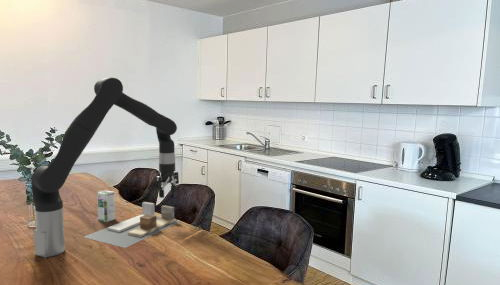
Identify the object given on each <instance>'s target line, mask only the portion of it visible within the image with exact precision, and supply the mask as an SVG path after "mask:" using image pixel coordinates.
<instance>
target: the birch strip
mask: <svg viewBox="0 0 500 285" xmlns="http://www.w3.org/2000/svg"><path fill="white" fill-rule="evenodd" d="M160 209H161V210H160V212H161V216H160V217H161V218H160V219H158V220H156V224H157V227H154V228H152V229H150V230H147V229H142V228H140V227H139V228H136V229H134V230H132V231H129V232H128V235H132V236H136V237H142V236H144V235H146V234H149V233H151V232H153V231H155V230H157V229H159V228H162V227H164V226H166V225H168V224H170V223H173V222H175V221H177V219H176V218H175V207H174V206H170V205H161V207H160Z"/></svg>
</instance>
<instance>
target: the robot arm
mask: <svg viewBox="0 0 500 285" xmlns="http://www.w3.org/2000/svg"><path fill="white" fill-rule="evenodd" d="M93 90H94V91H93V92H94V94H95V96H94V98H93V100H92V101H91V102H90V104H88V106H86V107H85V108H84V109H83V110H82V111H80V113H79V114H78V115H76V117H75V118H74V119H73V121H72V122H71V123H70V125H69V126H68V127H67V129H66V130H65V132H64V135H63V137H62V139H61V143H60V146H59V149H58V152H57V153H56V155H55V157H54V158H53V159H52V161H51V162H50V163H49V164H48V165H42V166H39V167H37V168H36V169H35V170H34V171H33V173H32V175H31V191H32V192H31V195H32V201H33V204H34V208H35V209H34V210H35V211H34V212H35V229H34V231H33V237H34V238H33V239H34V240H33V241H34V255H35V256H38V257H42V258H45V259H46V258H49V257H55V256H57V255H60V254H61V255H62V253H64V252H65V251H66V247H65V246H66V245H65V226H64V222H65V221H64V202H63V201H64V200H62V197H61V195H60V189H61V188H62V187H63V186H64V184H65V183H66V181H67V179H68V177H69V175H70V173H71V171H72V169H73V167H74V165H75V164H76V162H77V160H78V159H79V158H80V157H81V155H82V154H83V152H84V150H85V148H86V147H87V146H88V145H89V143H90V141H91V140H92V139H93V137H94V135H95V133H96V132H97V130H98V128H99V127H100V126H101V124H102V122H103V121H104V119H105V118H106V115H107V114H108V113H109V111H110V110H111V108H112V107H113V106H116V107H118V108H121V109H122V110H124V111H125V112H128V113H129V114H131V115H132V116H134V117H135V118H137V119H138V120H140V121H142V122H144V123H145V124H146V125H148V126H150V127H154V128H155V131H156V137H157V140H158V144H159V145H158V153H159V154H158V172H159V173H160V175H159V176H158V175H156V176H155V187H154V188H155V190H158V196H159V198H160V199H163V198H164V197H165V187H166V186H167V185H168V184H170V185H171V186H170V193H171V194H173V195H174V194H176V193H177V188H176V187H177V185H179V181H180V180H179V171H176V153H175V141H174V140H173V139H172V137H171V136H172V135H174V134H175V133H176V132H177V130H178V127H177V126H178V125H177V124H176V122H175V121H174V120H173V119H171V118H170V117H167V116H166V115H164V114H161V113H159V112H158V111H157V110H155V109H153V108H152V107H151V106H149V105H147V104H146V103H144V102H141V101H140V100H137V99H135V98H133V97H130V96H129V95H128V94H125V93H124V85H123V83H122V81H121V80H120V79H118V78H117V77H116V78H115V77H104V78H101V79H99V80H97V81H96V82H95V84H94V85H93Z"/></svg>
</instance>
